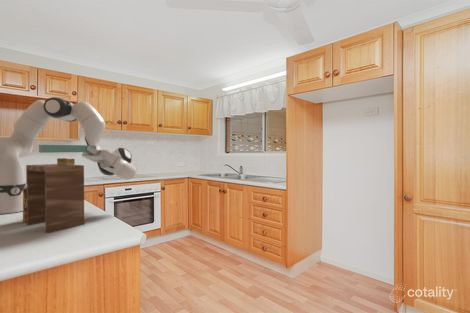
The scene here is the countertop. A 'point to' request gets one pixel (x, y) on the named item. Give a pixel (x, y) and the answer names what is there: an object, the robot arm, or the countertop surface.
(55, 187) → the wooden cabinet unit
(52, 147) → the teal block
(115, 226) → the countertop surface
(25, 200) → the candy box
